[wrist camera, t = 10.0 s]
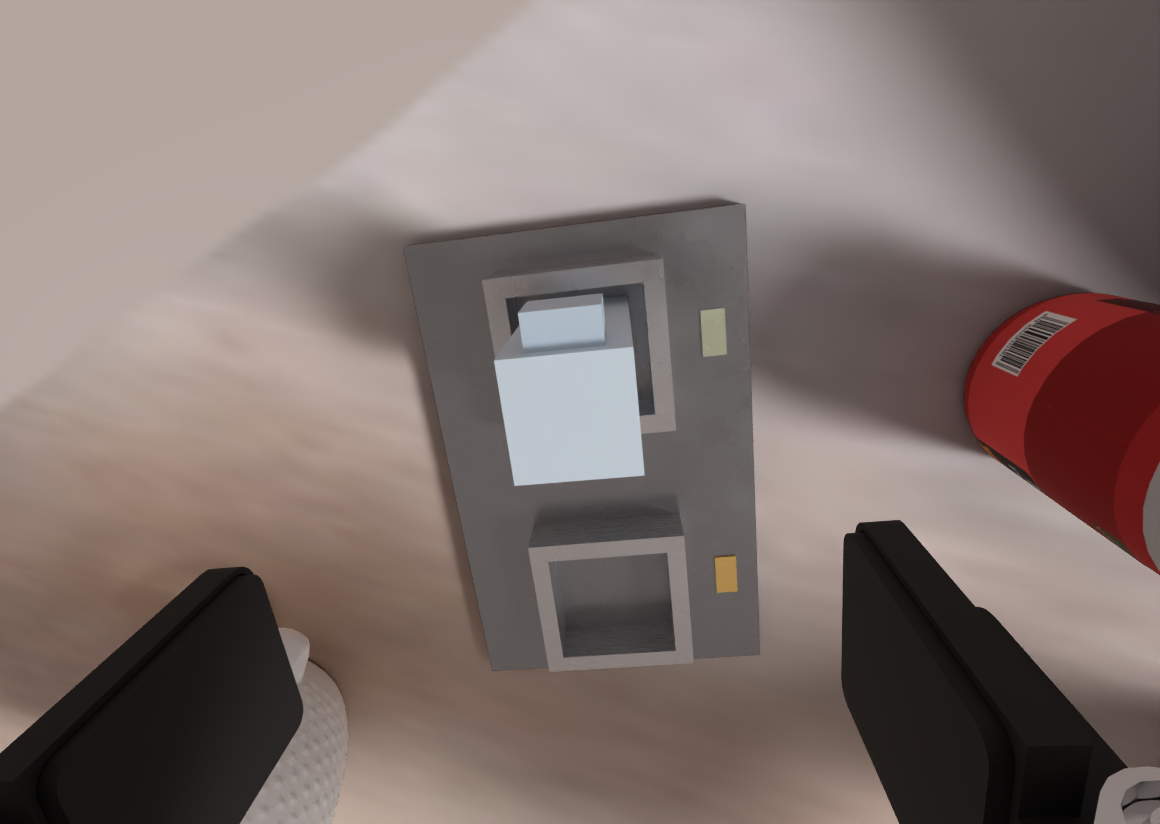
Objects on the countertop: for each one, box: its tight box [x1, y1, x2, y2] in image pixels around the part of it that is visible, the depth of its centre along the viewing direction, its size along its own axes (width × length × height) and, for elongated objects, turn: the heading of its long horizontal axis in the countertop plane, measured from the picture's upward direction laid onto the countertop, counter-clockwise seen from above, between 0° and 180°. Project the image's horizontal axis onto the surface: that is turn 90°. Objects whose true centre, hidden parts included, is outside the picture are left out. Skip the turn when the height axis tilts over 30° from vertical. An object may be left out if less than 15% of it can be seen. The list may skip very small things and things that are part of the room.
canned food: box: [964, 293, 1160, 575], centre depth 22 cm, size 8×8×11 cm
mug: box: [240, 628, 348, 824], centre depth 29 cm, size 15×11×13 cm
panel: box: [403, 204, 760, 672], centre depth 28 cm, size 22×14×3 cm, turn 7°
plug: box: [494, 293, 645, 486], centre depth 22 cm, size 5×4×9 cm
